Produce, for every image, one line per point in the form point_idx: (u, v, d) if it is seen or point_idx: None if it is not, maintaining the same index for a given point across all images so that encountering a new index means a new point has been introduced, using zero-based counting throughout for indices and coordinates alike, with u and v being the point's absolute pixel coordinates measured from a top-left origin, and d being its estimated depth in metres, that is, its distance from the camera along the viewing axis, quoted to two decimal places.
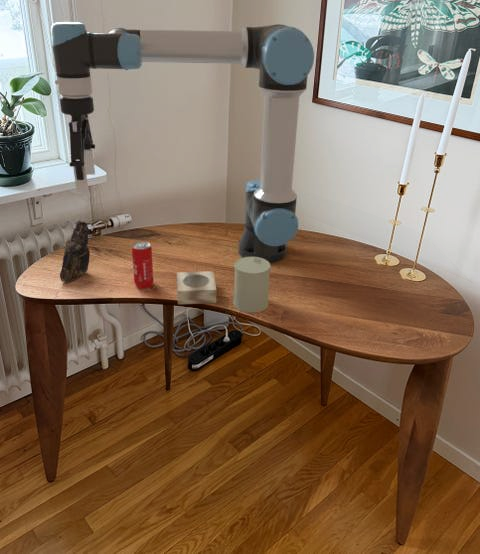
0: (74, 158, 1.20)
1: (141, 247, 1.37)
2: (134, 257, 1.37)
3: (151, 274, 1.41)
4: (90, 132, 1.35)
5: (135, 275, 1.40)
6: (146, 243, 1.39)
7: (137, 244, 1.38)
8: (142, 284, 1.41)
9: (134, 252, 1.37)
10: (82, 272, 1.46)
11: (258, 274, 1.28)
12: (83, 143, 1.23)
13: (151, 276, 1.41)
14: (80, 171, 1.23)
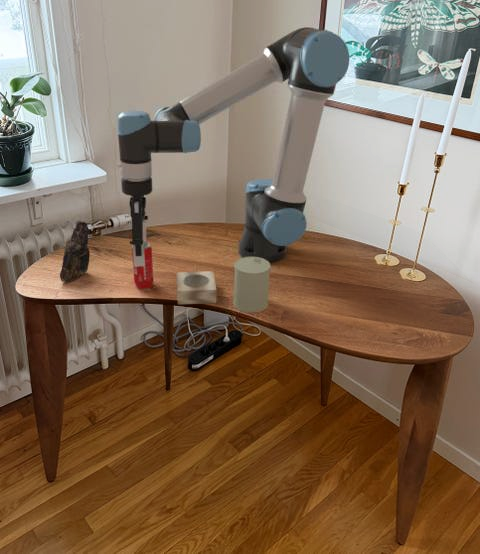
0: (135, 238, 1.26)
1: None
2: None
3: (151, 274, 1.41)
4: None
5: (135, 275, 1.40)
6: (146, 243, 1.39)
7: None
8: (142, 284, 1.41)
9: None
10: (82, 272, 1.46)
11: (258, 274, 1.28)
12: (142, 221, 1.30)
13: (151, 276, 1.41)
14: (139, 248, 1.29)
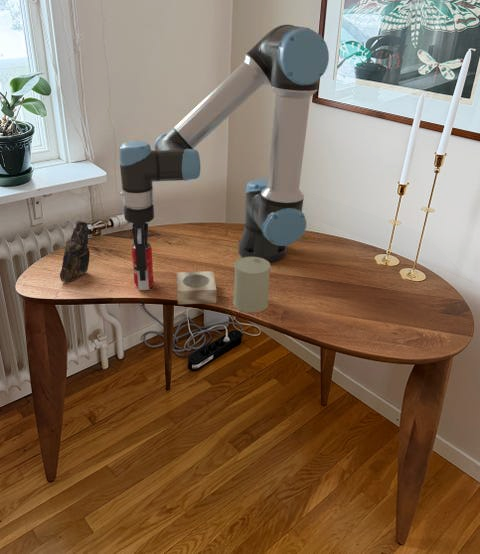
0: (139, 266, 1.34)
1: None
2: (134, 257, 1.37)
3: (151, 274, 1.41)
4: None
5: (135, 275, 1.40)
6: None
7: None
8: None
9: (134, 252, 1.37)
10: (82, 272, 1.46)
11: (258, 274, 1.28)
12: (145, 248, 1.35)
13: (151, 276, 1.41)
14: (143, 274, 1.37)
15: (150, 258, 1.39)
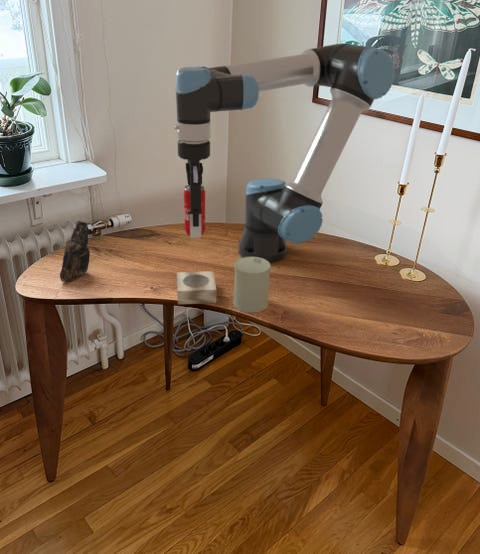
0: (194, 208, 1.22)
1: None
2: (186, 200, 1.25)
3: (204, 220, 1.29)
4: None
5: (186, 221, 1.28)
6: None
7: (189, 186, 1.26)
8: None
9: (187, 194, 1.24)
10: (82, 272, 1.46)
11: (258, 274, 1.28)
12: None
13: (203, 223, 1.29)
14: (197, 218, 1.25)
15: (203, 202, 1.26)
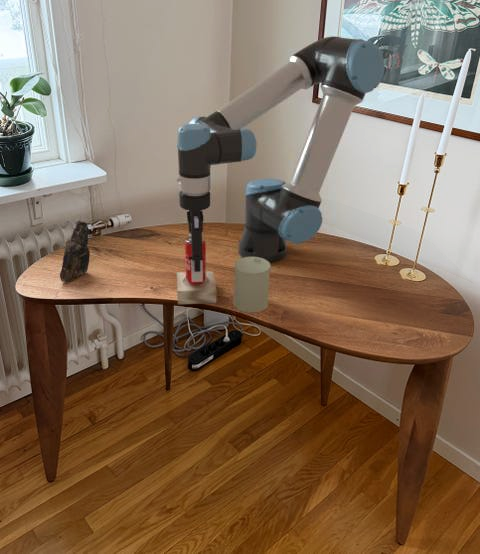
0: (195, 253, 1.24)
1: None
2: (188, 252, 1.32)
3: (204, 270, 1.36)
4: None
5: (188, 271, 1.35)
6: None
7: (190, 238, 1.33)
8: None
9: (188, 247, 1.31)
10: (82, 272, 1.46)
11: (258, 274, 1.28)
12: None
13: (204, 272, 1.36)
14: (198, 264, 1.27)
15: (204, 253, 1.33)
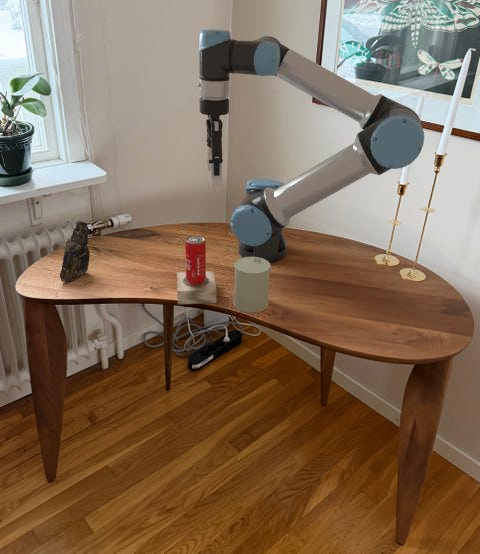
0: (215, 155, 1.29)
1: (195, 241, 1.31)
2: (188, 252, 1.32)
3: (204, 270, 1.36)
4: None
5: (188, 271, 1.35)
6: (200, 237, 1.34)
7: (191, 238, 1.33)
8: (195, 280, 1.35)
9: (188, 247, 1.31)
10: (82, 272, 1.46)
11: (258, 274, 1.28)
12: None
13: (204, 272, 1.36)
14: (218, 167, 1.32)
15: (204, 253, 1.33)
